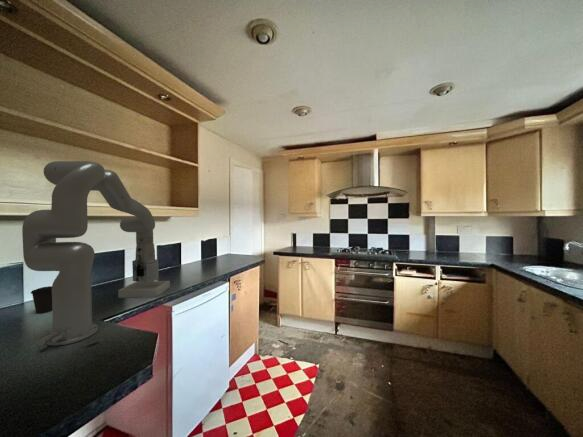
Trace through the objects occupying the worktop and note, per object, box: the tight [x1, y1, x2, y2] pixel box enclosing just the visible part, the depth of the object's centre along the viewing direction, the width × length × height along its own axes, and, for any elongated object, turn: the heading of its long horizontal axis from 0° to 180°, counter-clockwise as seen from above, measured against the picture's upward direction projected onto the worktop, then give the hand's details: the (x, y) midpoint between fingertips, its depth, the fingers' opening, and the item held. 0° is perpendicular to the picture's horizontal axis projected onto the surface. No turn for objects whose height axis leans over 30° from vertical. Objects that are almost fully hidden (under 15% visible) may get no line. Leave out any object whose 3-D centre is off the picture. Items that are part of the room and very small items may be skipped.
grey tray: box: [117, 280, 171, 299], centre depth 118 cm, size 14×18×4 cm
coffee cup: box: [30, 285, 52, 315], centre depth 97 cm, size 8×8×10 cm
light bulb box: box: [131, 258, 159, 283], centre depth 118 cm, size 11×7×11 cm, turn 71°
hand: (145, 273), depth 118 cm, fingers closed on light bulb box, 8 cm apart
